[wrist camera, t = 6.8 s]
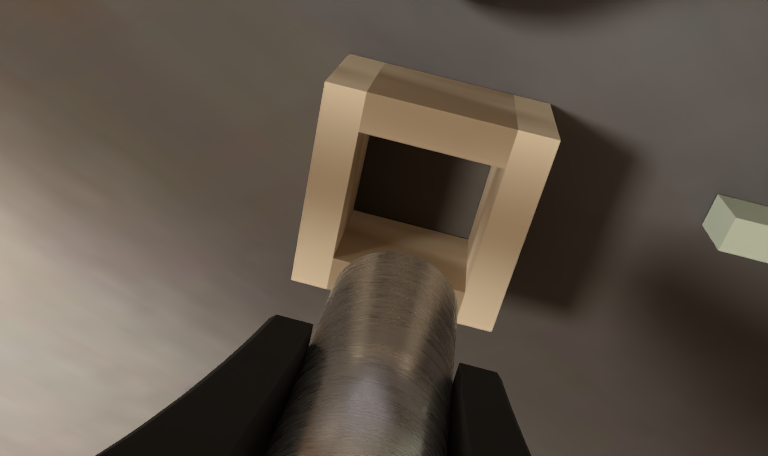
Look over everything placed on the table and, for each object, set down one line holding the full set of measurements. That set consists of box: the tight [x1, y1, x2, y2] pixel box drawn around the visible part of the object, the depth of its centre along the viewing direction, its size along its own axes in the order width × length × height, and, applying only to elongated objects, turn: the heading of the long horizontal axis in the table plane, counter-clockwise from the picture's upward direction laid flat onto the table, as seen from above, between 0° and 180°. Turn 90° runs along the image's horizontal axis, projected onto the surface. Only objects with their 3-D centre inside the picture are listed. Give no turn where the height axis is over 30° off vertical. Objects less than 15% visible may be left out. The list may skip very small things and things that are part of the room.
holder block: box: [291, 54, 561, 332], centre depth 18 cm, size 6×6×3 cm
